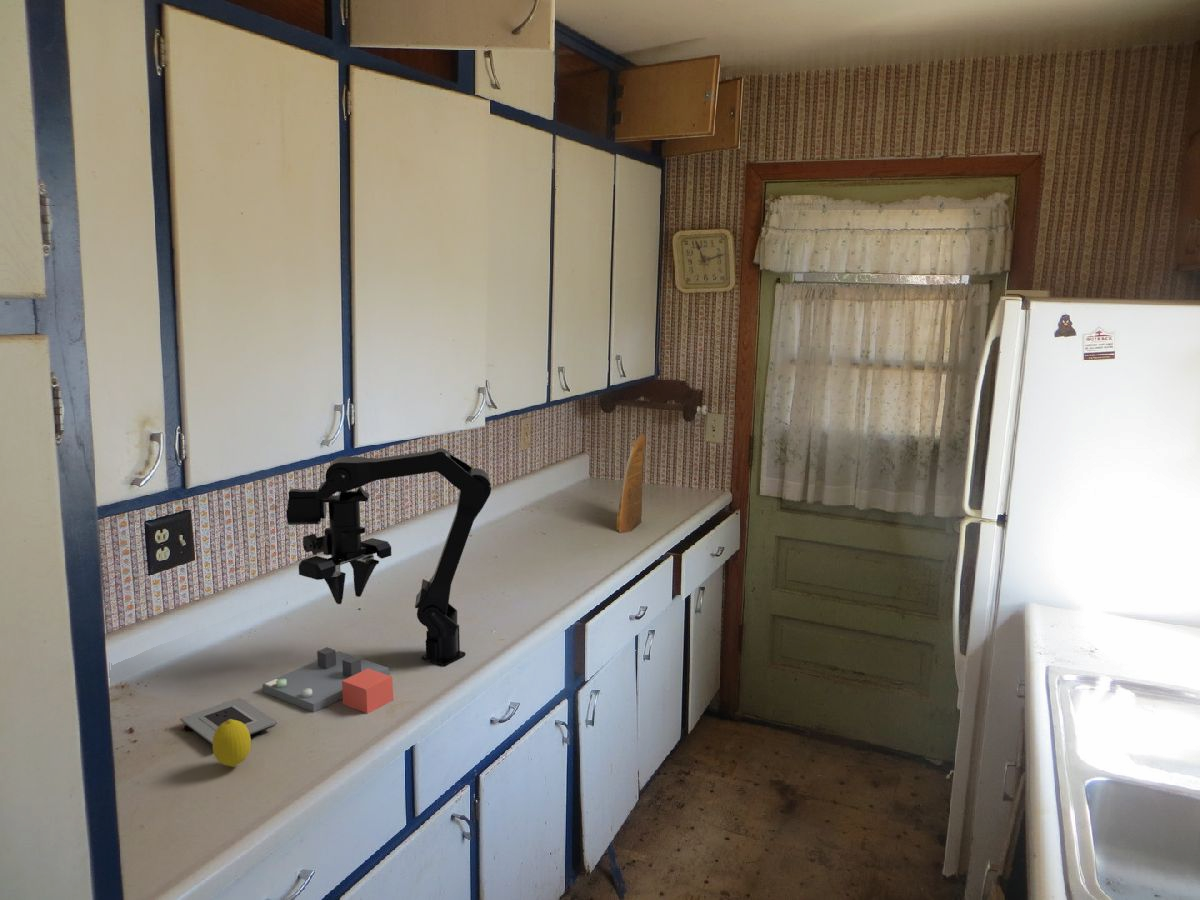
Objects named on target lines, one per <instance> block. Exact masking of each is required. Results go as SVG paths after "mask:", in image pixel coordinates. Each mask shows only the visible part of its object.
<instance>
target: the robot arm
mask: <svg viewBox="0 0 1200 900" xmlns="http://www.w3.org/2000/svg"><path fill="white" fill-rule="evenodd" d="M429 473H438V474H440V475H441V476H442V477H444V478H445V479H446V481H448V482H449V483H450V484H451V485H453V486H454V487H455V488H456V489H458V490H459V492H458V497H457V503H456V504H457V505H456V512H455V514H454V517H453V519H452V520H453V521H452V522H451V525H450V528H449V532H448V534H447V537H446V540H445V542H444V545H443V548H442V551H441V553H440V557H439V558H438V559H439V560H438V561H437V564H436V568H435V569H434V573H433V575H432V577H431V578H430V580H426V579H424V578H423V579H422V580H421V587H420V590H419V591H418V593H417V594H416V596H415V602H414V603H415V605H414V609H417V611H416V618H417V620H418V621H419V623H421V625H423V626H424V627H426V628H427V630H426V634H425V635H426V639H425V654H424V653H423V654H422V655H421V657H420V658H421V659H422V660H425V661H428V662H431V663H434V664H438V665H440V666H444V667H445V666H448V665H449V663H450V664H451V663H454V662H455V661H457V660H459V659H461V658H463V657H465V656H466V652H465V651H462V650H461V649H460V646H461V645H460V642H461V641H460V624H459V623H458V610H457V609H456V608H455V607H454V606H453V605H451V604H450V595H451V587H452V583H453V580H454V576H455V575H456V571H457V569H458V566H459V563H460V560H461V558H462V555H463V553H464V550H465V546H466V544H467V541H468V539H469V536H470V533H471V531H472V526H473V525H474V522H475V520H476V518H477V517H478V515H479V514H480V513H481V511H482V510H483V508H484V506H485V505H486V503H487V501H488V500H489V497H490V495H491V493H492V485H491V479H490V476H489V474H488V473H487V472H486V471H485V470H483V469H482V468H477V467H472V466H471V465H469V464H468V463H467V462H465V461H463V460H461V459H460V458H458V457H456V456H455V455H453V454H452V453H450V452H449V451H448V450H447V449H445V448H441V447H440V448H436V449H433V450H427V451H420V452H413V453H405V454H398V455H397V454H396V455H391V456H384V457H378V458H374V457H373V458H372V457H371V458H370V457H365V456H349V455H348V456H345V455H344V456H340V457H336V458H335V459H334V460H333V461H332V462H331V463H330V464H329V466H328V468H327V469H326V471H325V474H324V475H325V481H324V482H321V484H320V485H319V487H318V488H317V489H301V488H290V489H289V491H288V492H287V493H288V499H287V509H286V521H287V524H288V525H289V526H300V525H301V526H302V525H305V526H307V525H320V524H321V522H322V520H326V519H327V513H328V516H329V518H328V519H329V527H326V528H325V529H324V535H321V536H317V534H315V533H311V534H308V535H304V536H303V537H302V547H303V551H304V552H305V553H310V552H311V553H312V557H309V558H305V559H302V560H301V561H300V562H299V563H298V575H299V576H303V577H306V578H309V579H313V580H317V581H320V580H322V581H323V580H324V581H325V583H326V584H327V586H328V588H329V590H330V593H331V595H332V597H333V599H334V602H335V603H336V605H341V604H342V602H343V598H344V590H345V581H346V575H347V574H346V572H343V571H341V565H345V564H348V563H349V564H350V566H351V568H352V570H353V571H352V572H353V588H354V593H355V596H356V597H358V598H360V597H362V594H363V593H364V590H365V588H366V586H367V584H368V581H369V579H370V578H371V576H372V574H373V572H374V570H375V568H376V566H377V565H378V564H380V560H378V559H375V556H374V555H375V554H376V556H377V557H378V558H379V559H381V560H382V559H385V558H388V557H391V556H392V545H391V544H390V543H389V541H386V540H383V539H379V538H378V539H377V538H373V537H372V538H368V539H365V540H362V535H363V534H365V533H366V527H365V526H364V527H363V526H361V509H360V502H368V500H369V499H370V493H368V492H367V491H366V490H365V489H363V486H366V485H368V484H370V483H373V482H376V481H380V480H388V479H395V478H402V477H408V476H409V477H410V476H414V475H422V474H429ZM337 493H339V494H337ZM334 494H337V495H334ZM327 503H328V506H327ZM327 508H328V509H327ZM327 510H328V512H327ZM319 553H323V555H324V556H330V557H329V558H328V557H327V558H326V557H323V556H319V555H318V554H319ZM317 555H318V556H317ZM447 664H448V665H447Z"/></svg>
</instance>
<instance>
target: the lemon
mask: <svg viewBox="0 0 1200 900" xmlns="http://www.w3.org/2000/svg"><path fill="white" fill-rule="evenodd" d="M251 746H252V739H251V736H250V734H249V731H248V728H247V727H246V726H245V724H243V723H242V722H240V721H237V720H232V719H229V720H228V721H226V722H224V723H222V724H221V725H220V726H219V727H218V728H217V730H216V731H215V733H214V737H213V744H212V752H213V755H214V757H215V759H216V760H217V761H218V763H220V764H221V765H223V766H226V767H227V766H229V767H230V768H235V767H237V765H239V764H241V763H242V762H244V761H245V760H246V758H247V757H248V755H249V754H250V752H251V751H250V750H251Z"/></svg>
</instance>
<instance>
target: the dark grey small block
mask: <svg viewBox="0 0 1200 900" xmlns="http://www.w3.org/2000/svg"><path fill="white" fill-rule="evenodd" d="M361 659H362V658H360V657H358V656H355V655H352V656H350V657H348V658H346V659H343V660H342V666H343V675H344V676H347V677H351V676H353V675H355V674H357V673H360V672H361Z"/></svg>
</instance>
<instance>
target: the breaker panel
mask: <svg viewBox="0 0 1200 900" xmlns="http://www.w3.org/2000/svg"><path fill="white" fill-rule="evenodd" d="M350 656H353V655H351V654H348V653H346V652H343V651H340V650H337V651H336V665H334V666H332V667H330V668H327V669H325V668H322V667H319V666H318V660H315V661H313V662H311V663H308V664H305V665H304V666H301V667H299V668H295V669H294V670H292V671H290V672H287V673H285V674H283V675H280V676H278V677H276V678H273V679H271V680H269V681H267V682H265V683H262V692H263V693H265V694H267V695H270V696H273V697H274V698H278V699H280V700H283V701H285V702H288V703H290V704H292V705H295V706H298V707H300V708H303V709H305V710H307V711H310V712H313V713H316V712H317V711H319V710H321V709H323V708H325V707H327V706H329V705H331V704H333V703H336V702H337V701H340V700H341V699H342V700H343V692H342V681H343V680H345V679H347V678H349V677H347V676H344V675H343V666H342V660H343V659H346V658H348V657H350ZM366 669H371V670H374V671H377V672H380V673H383V674H386V675H389V676H390V668H389V667H387V666H384V665H382V664H378V663H376V662H373V661H370V660H367V659H363V658H361V672H362V671H364V670H366Z"/></svg>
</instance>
